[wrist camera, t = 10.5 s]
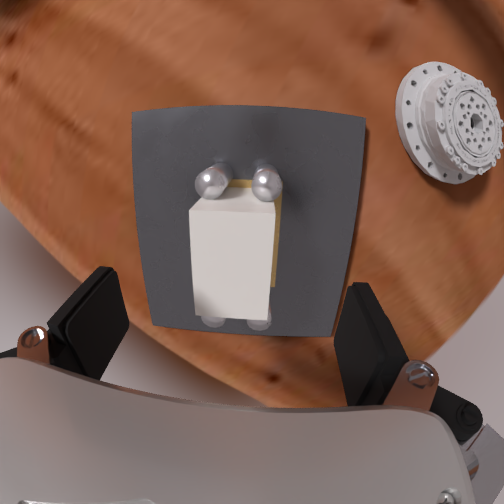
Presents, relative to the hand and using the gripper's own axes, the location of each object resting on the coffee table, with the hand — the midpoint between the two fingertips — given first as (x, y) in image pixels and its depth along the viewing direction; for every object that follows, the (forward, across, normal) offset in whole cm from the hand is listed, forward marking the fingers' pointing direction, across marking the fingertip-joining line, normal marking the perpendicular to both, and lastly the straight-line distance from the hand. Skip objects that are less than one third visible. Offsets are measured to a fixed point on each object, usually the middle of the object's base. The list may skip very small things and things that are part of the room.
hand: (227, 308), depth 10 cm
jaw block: (+9, 0, 0) cm, 9 cm away
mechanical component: (+11, -16, -10) cm, 22 cm away
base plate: (+10, 0, +1) cm, 11 cm away
